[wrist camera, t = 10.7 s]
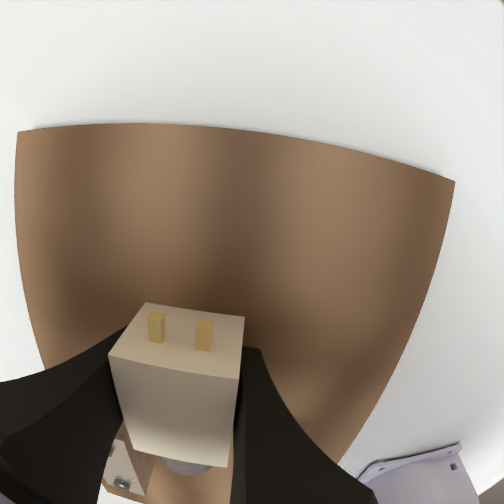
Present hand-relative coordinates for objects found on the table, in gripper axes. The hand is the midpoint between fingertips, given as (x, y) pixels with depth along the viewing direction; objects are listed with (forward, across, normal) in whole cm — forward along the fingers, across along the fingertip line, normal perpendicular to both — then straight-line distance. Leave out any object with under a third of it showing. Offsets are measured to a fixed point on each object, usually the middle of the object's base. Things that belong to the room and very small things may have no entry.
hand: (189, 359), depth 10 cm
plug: (+1, 0, +1) cm, 1 cm away
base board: (+2, 0, +7) cm, 7 cm away
